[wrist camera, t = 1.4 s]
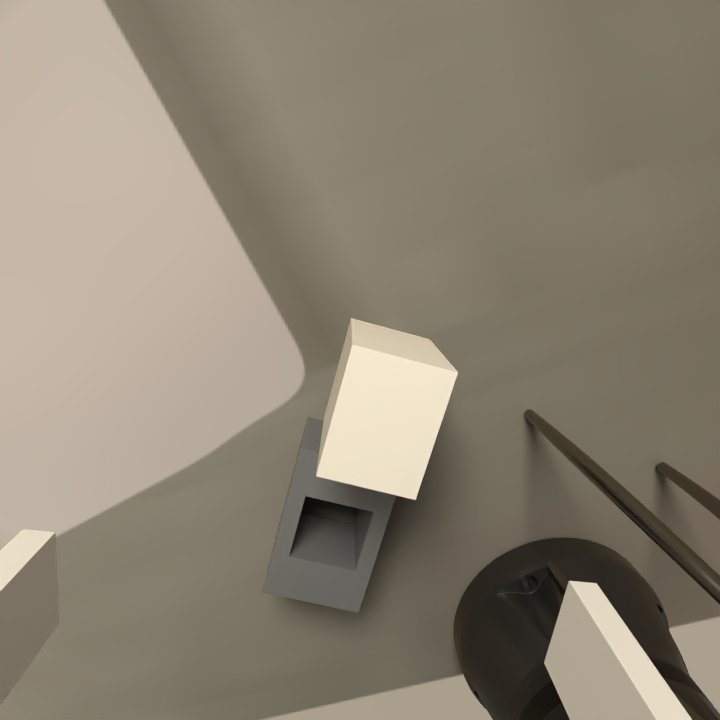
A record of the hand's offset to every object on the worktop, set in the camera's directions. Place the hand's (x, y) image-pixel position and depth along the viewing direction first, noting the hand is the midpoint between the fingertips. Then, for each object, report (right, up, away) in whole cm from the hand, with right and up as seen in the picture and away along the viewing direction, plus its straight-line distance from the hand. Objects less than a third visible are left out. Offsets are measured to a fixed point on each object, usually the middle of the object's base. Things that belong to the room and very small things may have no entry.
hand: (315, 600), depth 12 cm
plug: (+2, +6, +19) cm, 20 cm away
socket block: (-1, -3, +22) cm, 22 cm away
